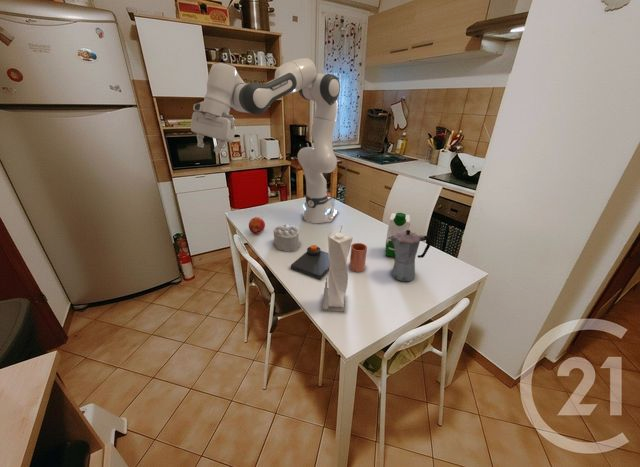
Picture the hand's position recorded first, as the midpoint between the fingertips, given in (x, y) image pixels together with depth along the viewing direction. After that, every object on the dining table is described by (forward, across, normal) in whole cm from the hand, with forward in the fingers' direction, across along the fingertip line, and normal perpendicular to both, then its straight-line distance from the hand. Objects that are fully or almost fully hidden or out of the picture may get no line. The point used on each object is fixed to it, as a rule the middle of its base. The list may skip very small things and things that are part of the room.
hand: (208, 149), depth 97 cm
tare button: (+29, -38, -32) cm, 57 cm away
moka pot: (+25, -76, -40) cm, 89 cm away
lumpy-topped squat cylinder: (+33, -22, -35) cm, 53 cm away
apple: (+34, -1, -37) cm, 50 cm away
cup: (+29, -58, -35) cm, 74 cm away
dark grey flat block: (+33, -42, -29) cm, 61 cm away
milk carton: (+21, -67, -53) cm, 88 cm away
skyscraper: (+37, -61, -14) cm, 73 cm away
